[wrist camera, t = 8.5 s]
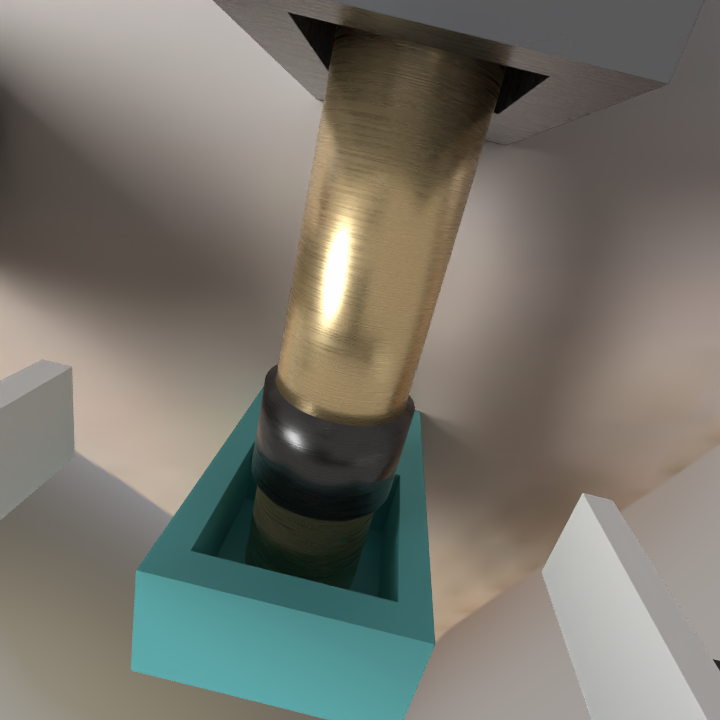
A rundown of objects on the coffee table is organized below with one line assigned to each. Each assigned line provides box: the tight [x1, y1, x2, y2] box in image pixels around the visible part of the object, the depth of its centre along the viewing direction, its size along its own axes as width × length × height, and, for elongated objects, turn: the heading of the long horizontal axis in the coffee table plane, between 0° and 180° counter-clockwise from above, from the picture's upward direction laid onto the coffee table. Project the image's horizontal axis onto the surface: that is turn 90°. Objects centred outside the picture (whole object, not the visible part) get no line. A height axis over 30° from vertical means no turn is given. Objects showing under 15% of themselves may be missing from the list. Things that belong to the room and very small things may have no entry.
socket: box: [131, 387, 435, 720], centre depth 19 cm, size 4×8×13 cm, turn 77°
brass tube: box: [245, 24, 507, 590], centre depth 13 cm, size 18×5×5 cm, turn 167°
